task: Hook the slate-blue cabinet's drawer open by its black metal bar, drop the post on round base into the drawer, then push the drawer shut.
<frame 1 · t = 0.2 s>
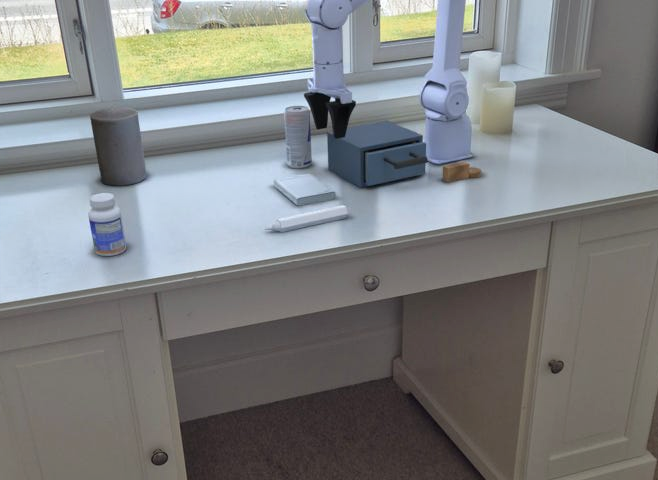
hand: (330, 132, 163), 10 cm above the table, tool pointing down, fingers open, 7 cm apart
energy drink: (299, 165, 179), on the table
marker: (305, 226, 149), on the table
pillar candle: (124, 179, 175), on the table
pill bottle: (111, 251, 143), on the table
drawer: (388, 159, 167), point 4 cm above the table, slide at 1.0 cm
cabinet: (374, 171, 173), on the table
hard drive: (304, 193, 164), on the table
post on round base: (460, 177, 168), on the table
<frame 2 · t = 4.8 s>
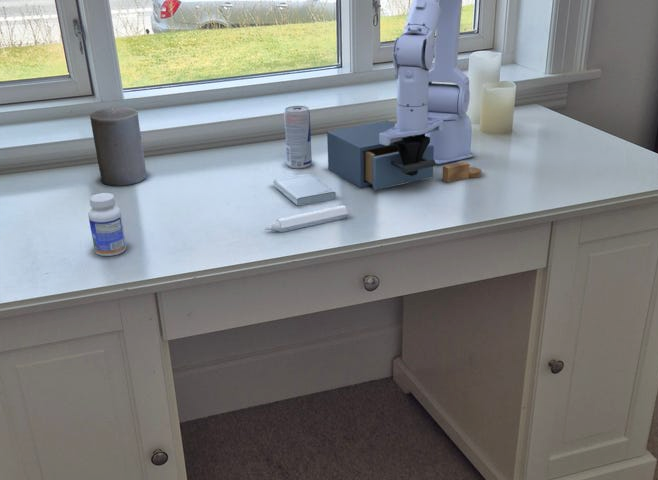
hand: (410, 174, 161), 3 cm above the table, tool pointing down, fingers closed, pressing on drawer
drawer: (395, 163, 165), point 4 cm above the table, slide at 3.6 cm, touching gripper
everything else where it was.
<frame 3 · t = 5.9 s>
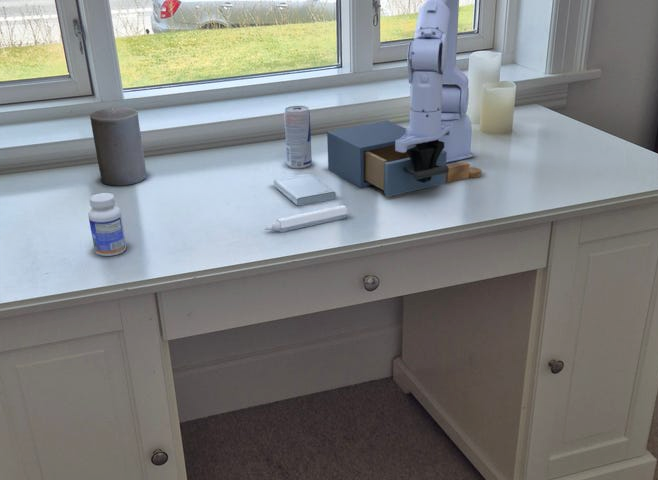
hand: (423, 180, 157), 3 cm above the table, tool pointing down, fingers closed, pressing on drawer
drawer: (407, 169, 161), point 4 cm above the table, slide at 8.0 cm, touching gripper
everything else where it was.
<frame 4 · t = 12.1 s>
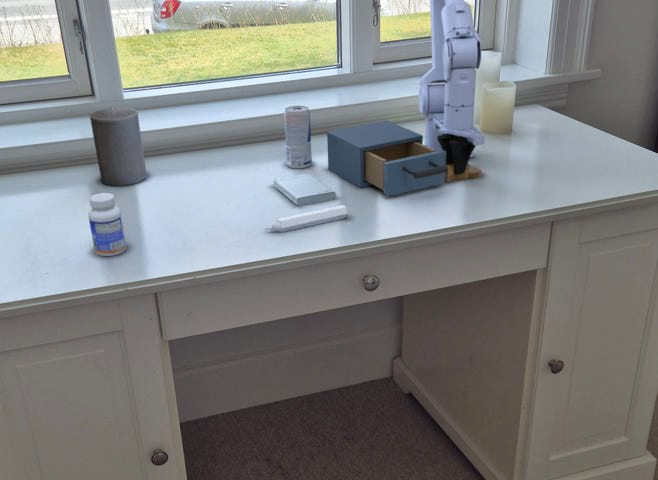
hand: (455, 171, 167), 1 cm above the table, tool pointing down, fingers closed on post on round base, 2 cm apart
drawer: (406, 168, 162), point 4 cm above the table, slide at 7.8 cm
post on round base: (460, 177, 168), on the table, touching gripper
everything else where it was.
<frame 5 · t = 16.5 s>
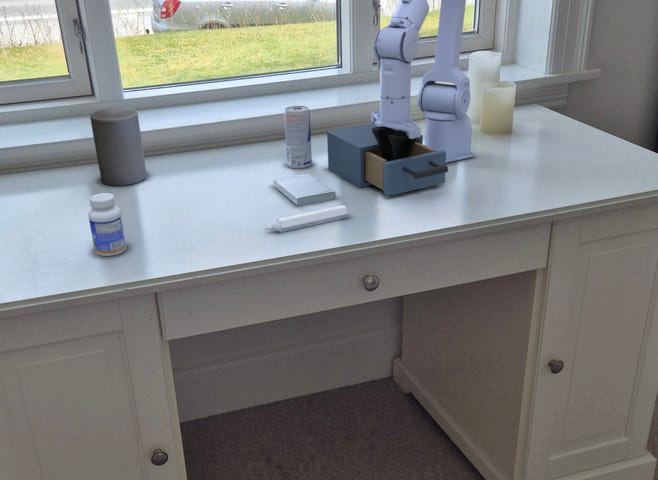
hand: (394, 166, 162), 4 cm above the table, tool pointing down, fingers open, 4 cm apart
drawer: (406, 168, 162), point 4 cm above the table, slide at 7.8 cm, touching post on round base
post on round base: (399, 176, 164), point 2 cm above the table, touching drawer
everything else where it was.
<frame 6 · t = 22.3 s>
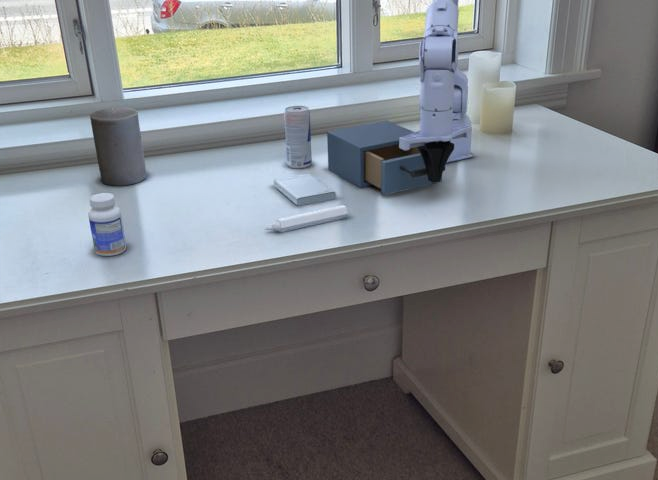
hand: (434, 181, 154), 4 cm above the table, tool pointing down, fingers closed, pressing on drawer
drawer: (404, 167, 162), point 4 cm above the table, slide at 6.8 cm, touching gripper, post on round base
everything else where it was.
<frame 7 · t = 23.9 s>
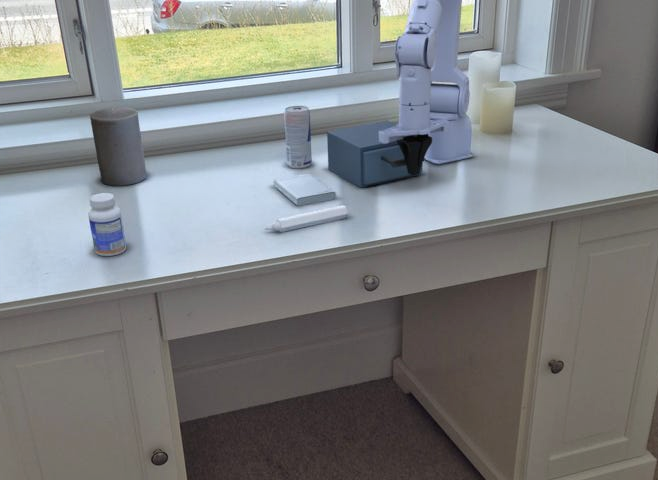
hand: (413, 173, 160), 4 cm above the table, tool pointing down, fingers closed, pressing on drawer
drawer: (385, 158, 168), point 4 cm above the table, slide at 0.0 cm, touching cabinet, gripper, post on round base
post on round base: (379, 166, 170), point 2 cm above the table, touching drawer
everything else where it was.
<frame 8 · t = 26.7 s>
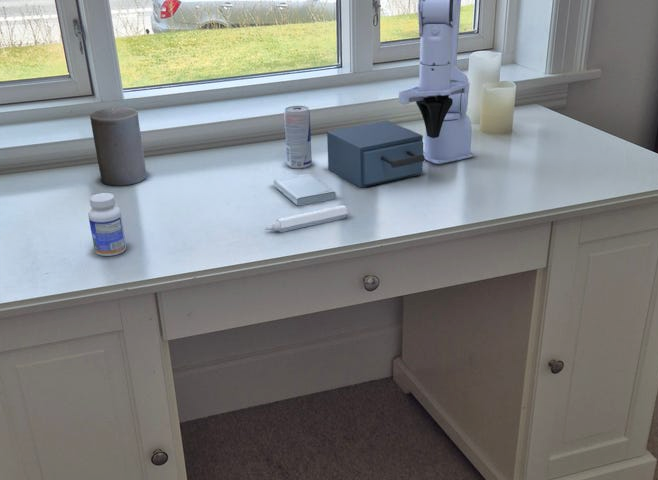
hand: (432, 136, 158), 10 cm above the table, tool pointing down, fingers closed
drawer: (385, 158, 168), point 4 cm above the table, slide at 0.0 cm, touching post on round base
everything else where it was.
at the end: drawer pulled out 8.0 cm at the most during the clip, back to where it started at the end; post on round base inside the target area in the cabinet (2.6 cm from its centre), point 2.0 cm above the cabinet's base; drawer slide at 0.0 cm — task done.
